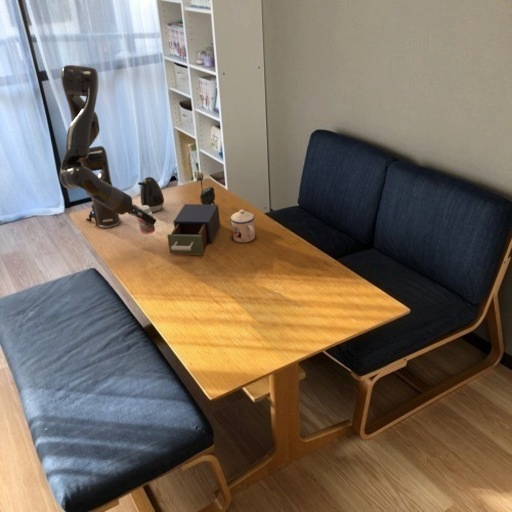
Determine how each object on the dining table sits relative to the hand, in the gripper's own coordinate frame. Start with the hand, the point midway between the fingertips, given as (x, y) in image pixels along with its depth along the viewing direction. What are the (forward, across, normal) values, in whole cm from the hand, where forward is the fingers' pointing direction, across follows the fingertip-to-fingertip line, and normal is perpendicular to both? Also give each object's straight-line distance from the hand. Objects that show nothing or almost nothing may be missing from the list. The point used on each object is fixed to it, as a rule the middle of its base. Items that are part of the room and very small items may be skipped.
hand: (150, 219), depth 189 cm
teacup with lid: (+29, -19, -12) cm, 37 cm away
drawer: (+14, -10, +2) cm, 18 cm away
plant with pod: (+32, +12, -14) cm, 36 cm away
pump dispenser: (+22, +33, -4) cm, 40 cm away
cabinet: (+22, -2, -5) cm, 23 cm away
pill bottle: (+2, 0, +4) cm, 5 cm away
